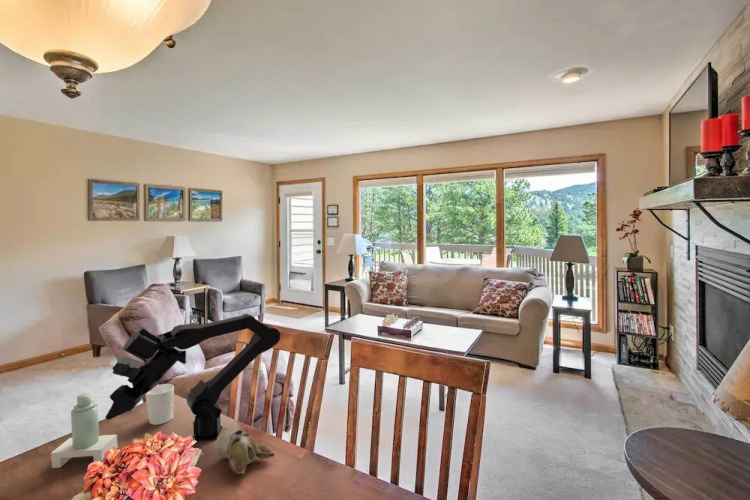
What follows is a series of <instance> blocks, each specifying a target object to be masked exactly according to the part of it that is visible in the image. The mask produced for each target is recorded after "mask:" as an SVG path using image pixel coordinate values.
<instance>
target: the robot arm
mask: <svg viewBox="0 0 750 500" xmlns="http://www.w3.org/2000/svg"><path fill="white" fill-rule="evenodd" d="M246 329H248V330H250V331H251V332H253V334H252V336H251V337H250V339H249V342H248V344H247V345H245V347H244V348H242V350H241V351H240V352H238V353H237V355H236V356H234V357H233V358H232V359H231V360H230V361H229V362H228V363H227V364H226V365H225V366H224V367H223V368H222V369H221V370H220V371H219V372H218V373H216V375H215V376H213V377H212V378H211V379H209V380H208V381H205V382H204V381H203V379H200V380H199V381H198V382H197V384H196V385H195V386H193V387H192V388H190V389H189V393H188V394H187V397H186V403H187V405H188V408H189V409H190V411H191V413H192V414H193V415H195V416H194V420H193V422H192V428H193V436H194V437H193V439H194V438H195V440H197V441H211V440H212V441H213V440H217V439H218V437H219V436H220V434H221V433H222V432H221V431H223V428H224V427H223V425H221V414H222V412H223V411H222V409H221V407H220V405H218V404H217V403H218V400H219V399H220V396H221V395H222V393H223V391H224V390H225V389H226V388H227V387H228V386H229V385H230V384H231V382H233V381H234V380H235V379H236V378H237V377H238V376H239V375H240V374H241V373H242V372H243V371H244V370H245V369H246V368H248V366H249V365H250V364H251V363H252V362H254V360H255V359H256V358H257V357H258V356H260V355H261V354H262V353H266V352H267V351H269V350H271V349H272V348H273V347H276V345H278V343H279V342H280V340H281V332H280V330H279V329H278V328H276V327H274V326H272V325H271V324H267V323H266V324H265V323H262V322H261V321H259V320H258V319H256V318H255V317H254V316H253V315H252V314H249V313H244V314H242V315H239V316H234V317H229V318H226V319H221V320H216V321H212V322H207V323H200V324H199V323H198V324H196V323H187V324H185V323H184V324H178V325H176V326H174V327H173V328H172V329H171V330H169V331H165V332H164V333H161V334H158V335H157V334H156V335H155V334H154V333H152V332H150V331H149V330H148V329H146V328H144V327H141V328H139V330H137V331H136V332H135V333H134V334H132V335H131V336H130V337H129V338H128V339H127V340H126V342H125V344H124V345H123V346H122V350H123V351H124V352H126V353H128V354H130V355H132V356H134V357H136V358H138V359H139V360H137V359H134V358H131V357H128V356H122V357H120V359H118V360H117V361H116V362H115V365H114V366H113V367H112V368H111V369H112V374H114V375H115V376H117V375H118V376H120V377H125V378H127V380H126V381H127V382H129V383H130V384H132V387H131V386H130V385H128V384H121V385H120V386H119V387H118V388H116V389H115V390H114V391H113V392H112V393H111V394H110V395H109V398H110V400H111V401H112V405H111V407H110V408H109V410H108V412H107V413H106V415H105V417H104V418H105V419H106V420H108V421H109V420H112V419H114V418H116V417H118V416H121V415H123V414H125V413H127V412H131V411H132V410H133V409H134V408H135V407H136V406H137V405H138V404H139V403H140V402H141V401H142V396H143V395H146V394H145V393H147V392H149V391H150V390H152V389H153V388H154V387H155V386H156V385H159V383H160V382H162V380H163V377H164V376H165V375H166V374H167V373H168V371H170V370H171V368H172V367H173V366H174V365H175V364H176V363H177V362H179V363H181V364H183V365H185V364H187V351H186V350H188V349H190V348H192V347H195V346H197V345H199V344H202V343H203V342H204V341H206V340H209V339H212V338H215V337H216V338H217V337H219V336H224V335H226V334H227V335H228V334H231V333H235V332H240V331H243V330H246ZM140 360H142V361H144V360H146V362H141V361H140ZM197 441H196V442H197Z"/></svg>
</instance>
